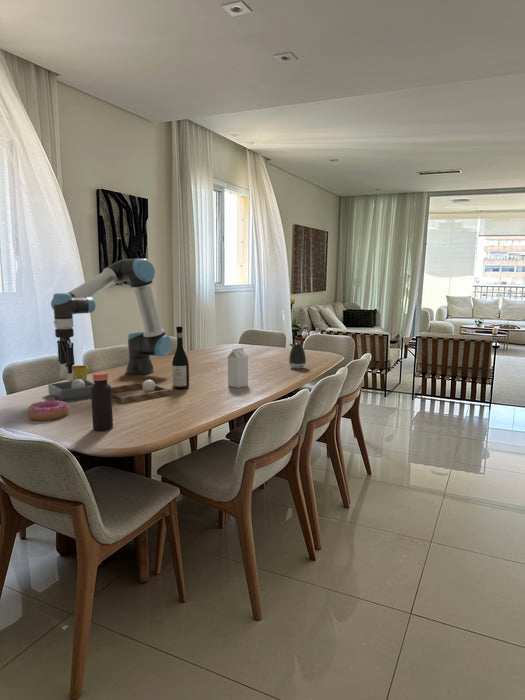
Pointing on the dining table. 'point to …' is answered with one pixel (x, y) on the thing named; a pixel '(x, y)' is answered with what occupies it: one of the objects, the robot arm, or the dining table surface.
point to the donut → (48, 410)
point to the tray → (158, 393)
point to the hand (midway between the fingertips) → (67, 379)
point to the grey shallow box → (70, 390)
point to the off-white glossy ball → (78, 383)
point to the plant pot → (80, 372)
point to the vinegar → (101, 402)
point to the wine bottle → (180, 364)
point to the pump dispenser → (297, 356)
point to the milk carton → (238, 368)
